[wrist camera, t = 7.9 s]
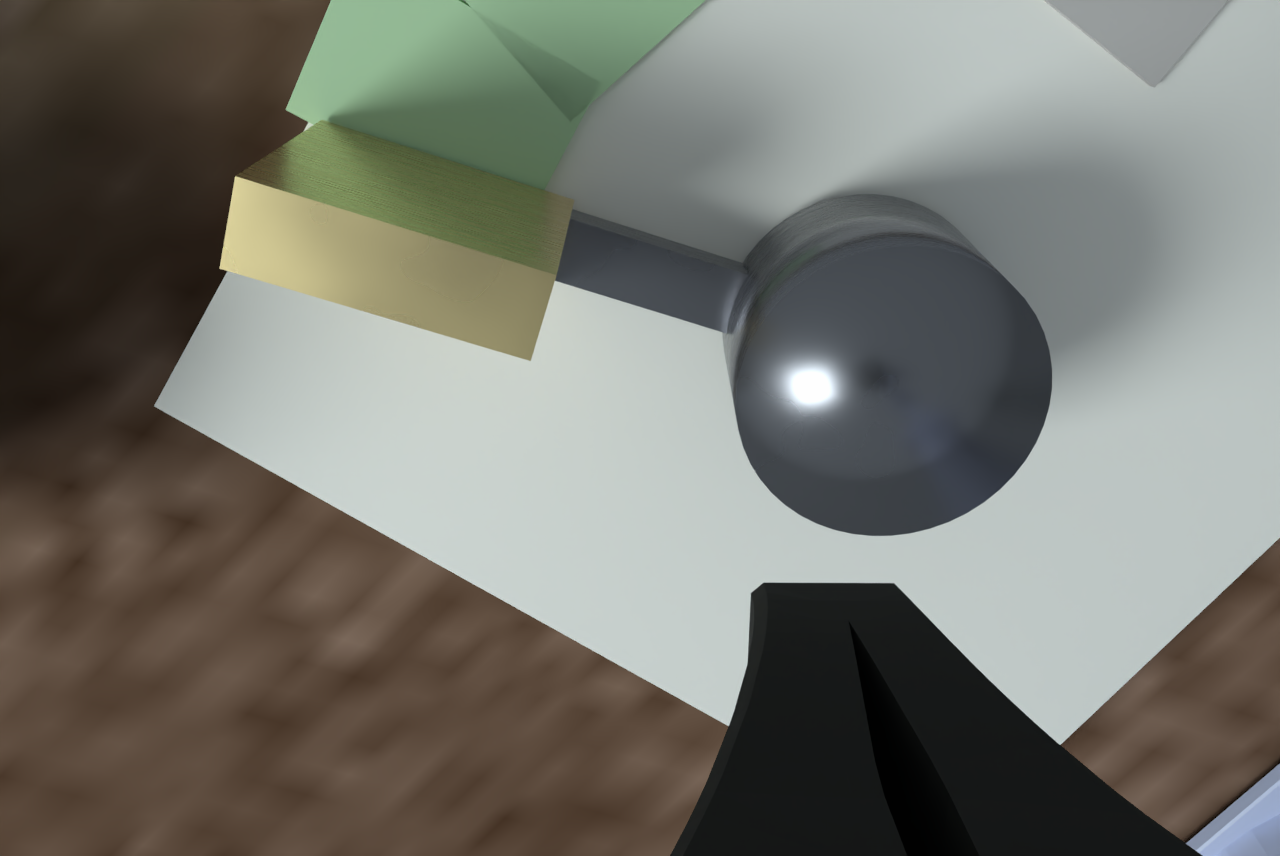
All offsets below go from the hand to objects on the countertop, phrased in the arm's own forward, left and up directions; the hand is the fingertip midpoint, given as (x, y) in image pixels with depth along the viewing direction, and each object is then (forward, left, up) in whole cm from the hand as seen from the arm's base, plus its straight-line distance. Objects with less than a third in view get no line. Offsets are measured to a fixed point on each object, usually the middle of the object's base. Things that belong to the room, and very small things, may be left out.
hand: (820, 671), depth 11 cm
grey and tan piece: (+2, 0, -9) cm, 9 cm away
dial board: (-1, -1, -10) cm, 10 cm away
